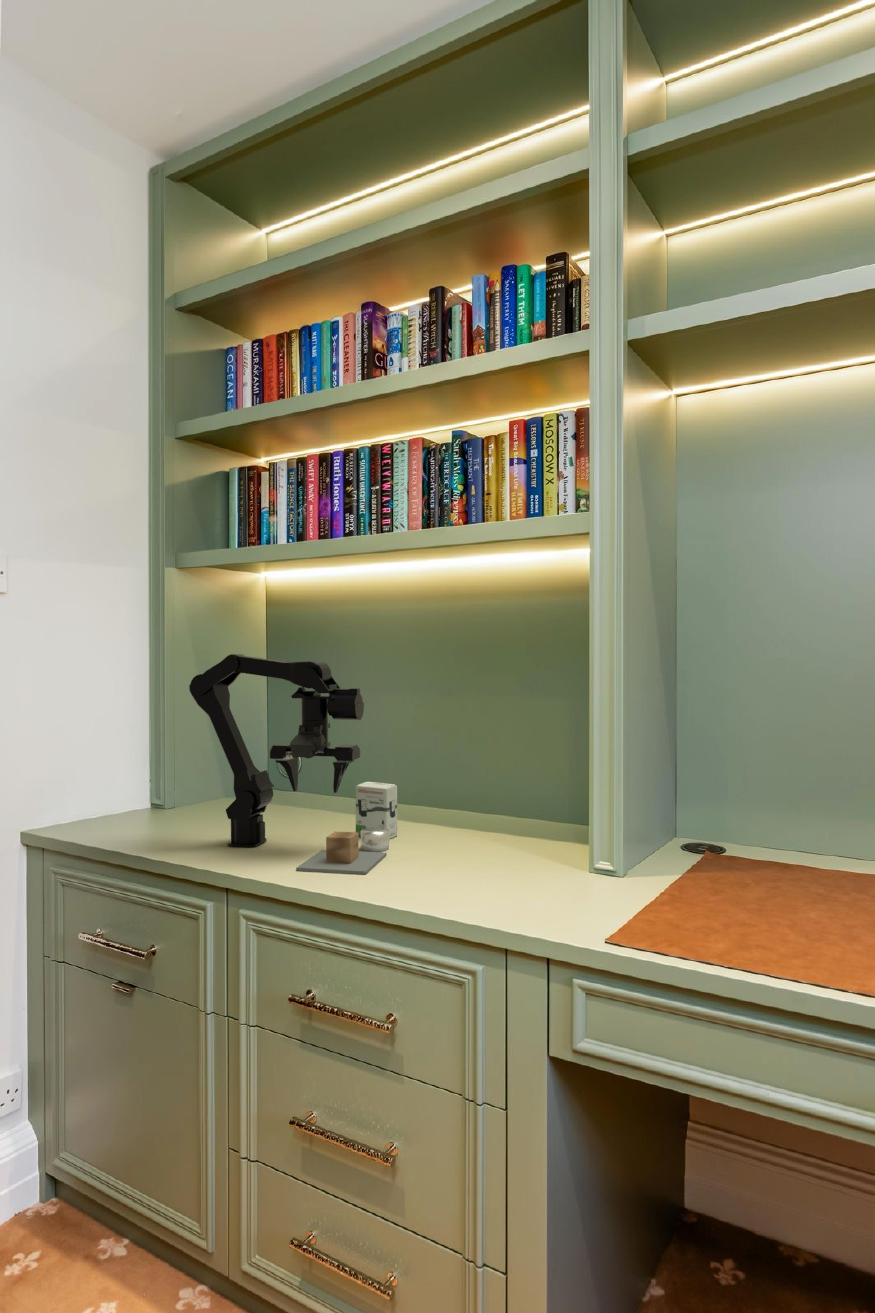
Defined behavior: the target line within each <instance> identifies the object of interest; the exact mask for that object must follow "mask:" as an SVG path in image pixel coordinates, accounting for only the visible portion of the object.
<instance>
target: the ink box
mask: <svg viewBox="0 0 875 1313" xmlns="http://www.w3.org/2000/svg"><path fill="white" fill-rule="evenodd" d="M374 827H379V828H386V829H388V830H389V840H390V839H392V838H395V837H397V836H398V785H396V784H394V783H386V782H375V781H365V782H361V783H359V784H358V785H355V832H357V833H358V838H361V830H362V829H366V828H374Z"/></svg>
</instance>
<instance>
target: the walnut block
mask: <svg viewBox="0 0 875 1313" xmlns="http://www.w3.org/2000/svg"><path fill="white" fill-rule="evenodd" d="M325 848H326V849H325V850H326V863H344V864H351V863H352V862H353V861H355V860H356V859H357V858H358V857H359V849H360V848H359V837H358V833H357V832H356V831H354V832H353V831H334V832H332V833H330V834H328V835H327V836H326V837H325Z"/></svg>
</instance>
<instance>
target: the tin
mask: <svg viewBox="0 0 875 1313" xmlns="http://www.w3.org/2000/svg"><path fill="white" fill-rule="evenodd" d="M388 850H390V839H389V830H388V829H386V828H379V827H374V828H366V829H362V830H361V837H360V851H361V852H381V853H385V852H387V851H388Z"/></svg>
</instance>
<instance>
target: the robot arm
mask: <svg viewBox="0 0 875 1313" xmlns="http://www.w3.org/2000/svg"><path fill="white" fill-rule="evenodd" d="M241 674H247V675H255V676H259V677H269V678H274V679H281V680H285V681H288V683H289V682H290V683H291V684H294V685H297V686H300V687H298V689H297V690H296V691H295V692H294V693H293V694H291V699H300V700H301V701H300V705H301V707H300V712H301V714H300V716H301V718H300V721H301V724H299V725H298V732H297V735H296V736H294V738H293V739H292V740H291V741H290V742H281V743H277V744H276V743H275V744H273V745H272V746H271V747H270V749H269V759H272V760H275V762H276V763H277V764H280V765H281V766H282V767H283V769H284V770H285V773H286V775H287V777H288V780H289V783H290V785H291V789H292V791H293V792H297V791H298V785H299V758H304V759H305V758H306V759H311V758H313V757H333V758H334V759H335V760H336V761H333V762H332V764H333V770H334V771H333V784H332V785H333V787H332V789H333V793H334V794H336V793H337V792H339V791H338V790H339V788H340V785H341V783H342V781H343V778H344V775H345V773H346V770H347V769H348V767H349V765H350V764H351V763H353V762H355V760H357V759H359V758H361V750H360V747H359V746H358V744H340V745H338V746H335V747H331V741H329V729H330V728H331V723H330V722H329V716H331V718H332V720H335V721H338V720H339V721H361V720H362V718H363V716H364V710H365V702H364V701H363V697H362V694H361V688H359V687H353V688H341V687H340V686H339V684H338V683H337V681H336V680H335V678H334V676H332V671H331V668H330V666H329V665H328V663H327V662H325V661H322V660H315V661H311V660H310V661H293V662H291V661H283V660H276V659H270V658H262V657H255V656H247V655H245V654H242V653H241V654H240V653H235V654H234V653H233V654H232V653H230V654H228V655H227V656H225V658H224V659H222V660H220V662H218V663H217V664H215V665H213V666H211V667H210V668H209V669H207V670H206V671H204V672H203V673H199V674H197V675H195V676H194V677H192V679H191V681H190V683H189V686H188V687H189V688H188V689H189V690H188V691H189V693H190V694H191V697H193V700H194V701H195V703H196V705H197V706H198V707H199V708H201V710H203V712H205V714H207V716H208V717H209V720H210V722H211V725H212V726H213V729H214V731H215V733H216V736H217V738H218V741H219V743H220V746H221V747H222V750H223V752H224V754H225V757H226V759H227V762H228V765H229V766H230V769H231V771H232V772H231V773H233V792H234V796H235V800H233V802H232V803H231V804H230V805H229V806H228V807H227V808H225V813H226V817H227V819H228V820H230V841H229V842H228V843H227V847H244V848H246V847H247V848H256V847H257V846H259V845H261V844H263V843H264V842H266V841H267V837H266V822H265V821H264V814H262V813H265V812H266V809H267V806H268V805H269V804H270V803H271V802H272V800H273V797H274V791H273V788H274V787H275V785H274V784H273V783H272V780H270V774H269V773H268V770H266V769H265V770H262V771H260V770H259V769H258V768H257V767H255V764H254V762H253V760H252V757H251V755H250V753H249V751H248V747H247V746H246V743H245V741H244V739H243V736H242V733H241V732H240V729H239V727H238V725H237V722H236V720H235V718H234V715H233V712H232V710H231V708H230V704H231V703H230V702H231V700H230V699H231V695H230V690H229V687H230V686H231V685H233V683H234V682H235V681H236V680H237V679H238V677H239V676H240V675H241ZM307 689H312V690H307ZM324 694H328V695H324Z"/></svg>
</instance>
